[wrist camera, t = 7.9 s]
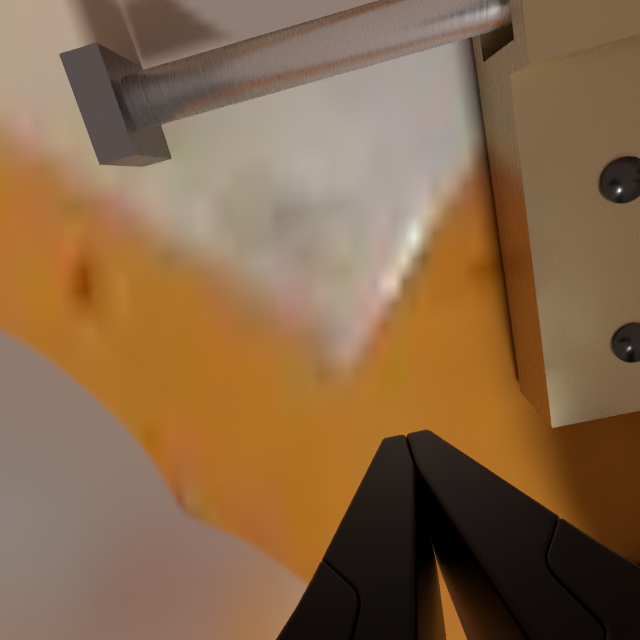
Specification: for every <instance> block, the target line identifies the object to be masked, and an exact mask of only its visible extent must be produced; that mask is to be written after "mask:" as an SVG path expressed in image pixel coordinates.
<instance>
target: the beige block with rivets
mask: <svg viewBox="0 0 640 640" xmlns="http://www.w3.org/2000/svg"><path fill="white" fill-rule="evenodd" d="M510 7H511V16H512V24H513V26H510V27H506V28H503V29H499V30H495V31H492V32H488V33H485V34H481V35H478V36H474V37H472V40H473V47H474V54H475V62H476V69H477V76H478V84H479V91H480V98H481V106H482V113H483V120H484V127H485V135H486V142H487V149H488V157H489V164H490V171H491V179H492V186H493V193H494V200H495V208H496V215H497V222H498V230H499V237H500V244H501V252H502V259H503V266H504V273H505V281H506V288H507V295H508V303H509V310H510V317H511V325H512V332H513V339H514V346H515V354H516V361H517V368H518V376H519V383H520V390H521V393H522V394H523V395H524V396H525V397H526V399H527V400H528V401H529V402H530V403H531V404H532V405H533V407H534V408H535V409H536V410H537V411H538V412H539V414H540V415H541V416H542V417H543V418H544V419H545V421H546V422H547V423H548V424H549V425H550V426H551V427H552V428H555V427H560V426H565V425H570V424H575V423H580V422H585V421H591V420H596V419H601V418H606V417H611V416H616V415H621V414H626V413H631V412H636V411H640V0H510Z"/></svg>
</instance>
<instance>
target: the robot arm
mask: <svg viewBox="0 0 640 640" xmlns="http://www.w3.org/2000/svg"><path fill="white" fill-rule="evenodd" d="M432 545H433V546H432ZM433 549H434V550H433ZM434 552H435V555H434ZM435 556H436V559H437V562H438V565H439V568H440V570H441V573H442V576H443V578H444V581H445V584H446V586H447V589H448V591H449V594H450V596H451V599H452V601H453V604H454V607H455V609H456V612H457V614H458V617H459V619H460V622H461V624H462V627H463V629H464V632H465V635H466V637H467V640H640V565H637V564H635V563H633V562H632V561H630V560H628V559H626V558H625V557H623V556H621V555H619V554H617V553H616V552H614V551H613V550H611V549H609V548H608V547H606V546H605V545H603V544H601V543H600V542H598V541H597V540H595V539H593V538H592V537H590V536H589V535H587V534H585V533H584V532H582V531H581V530H579V529H578V528H576V527H575V526H573V525H572V524H570V523H569V522H567V521H566V520H564V519H560V518H559V516H558V515H556V514H555V513H553V512H552V511H550V510H549V509H547V508H546V507H544V506H543V505H541V504H540V503H538V502H537V501H535V500H534V499H532V498H531V497H529V496H528V495H526V494H525V493H523V492H522V491H520V490H518V489H517V488H515V487H514V486H512V485H511V484H509V483H508V482H506V481H505V480H503V479H502V478H500V477H499V476H497V475H496V474H494V473H493V472H491V471H490V470H488V469H487V468H485V467H484V466H482V465H481V464H479V463H478V462H476V461H475V460H473V459H472V458H470V457H469V456H467V455H466V454H464V453H463V452H461V451H460V450H458V449H457V448H455V447H454V446H452V445H451V444H449V443H448V442H446V441H445V440H443V439H442V438H440V437H439V436H437V435H436V434H434V433H433V432H431V431H429V430H422V431H417V432H412V433H409V434H408V435H407V438H406V436H404V435H398V436H393V437H388V438H384V439H383V440H382V442H381V444H380V446H379V448H378V450H377V452H376V454H375V456H374V458H373V460H372V462H371V464H370V466H369V468H368V470H367V472H366V474H365V476H364V478H363V480H362V482H361V484H360V486H359V488H358V490H357V492H356V494H355V496H354V497H353V499H352V501H351V503H350V505H349V507H348V509H347V511H346V513H345V515H344V517H343V519H342V521H341V523H340V525H339V527H338V529H337V531H336V533H335V535H334V537H333V539H332V541H331V543H330V545H329V547H328V549H327V551H326V553H325V555H324V557H323V559H322V562H321V563H320V564H319V566H318V568H317V570H316V572H315V574H314V576H313V578H312V580H311V582H310V583H309V585H308V587H307V589H306V591H305V593H304V594H303V596H302V598H301V600H300V602H299V604H298V606H297V607H296V609H295V610H294V612H293V613H292V615H291V617H290V618H289V620H288V621H287V623H286V625H285V626H284V628H283V629H282V631H281V633H280V634H279V636H278V637H277V639H276V640H446V634H445V626H444V618H443V610H442V602H441V594H440V586H439V578H438V571H437V565H436V559H435Z"/></svg>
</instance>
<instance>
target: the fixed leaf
mask: <svg viewBox="0 0 640 640" xmlns="http://www.w3.org/2000/svg"><path fill="white" fill-rule="evenodd" d="M510 26H513V24H512V16H511V7H510V0H379V1H376V2H372V3H369V4H365V5H362V6H359V7H355V8H352V9H349V10H345V11H342V12H338V13H335V14H332V15H328V16H325V17H322V18H318V19H315V20H311V21H308V22H304V23H301V24H298V25H295V26H291V27H287V28H284V29H281V30H277V31H274V32H270V33H267V34H264V35H260V36H257V37H254V38H250V39H247V40H243V41H240V42H237V43H233V44H230V45H226V46H223V47H220V48H216V49H213V50H209V51H206V52H203V53H199V54H196V55H192V56H189V57H186V58H182V59H179V60H176V61H172V62H169V63H165V64H162V65H159V66H155V67H152V68H148V69H145V70H143V69H142V68H141V67H140V66H138V65H136V64H134V63H132V62H131V61H129V60H127V59H125V58H123V57H122V56H120V55H118V54H116V53H115V52H113V51H111V50H109V49H107V48H106V47H104V46H102V45H100V44H98V43H94V44H90V45H87V46H84V47H80V48H77V49H74V50H71V51H67V52H64V53H61V54H59V55H60V57H61V60H62V63H63V66H64V68H65V71H66V74H67V76H68V79H69V82H70V85H71V87H72V90H73V93H74V96H75V98H76V101H77V104H78V107H79V109H80V112H81V115H82V118H83V120H84V123H85V126H86V128H87V131H88V134H89V137H90V139H91V142H92V145H93V148H94V150H95V153H96V156H97V159H98V161H99V164H100V165H118V166H140V167H142V166H146V165H150V164H153V163H157V162H161V161H164V160H168V159H171V156H170V153H169V150H168V146H167V143H166V140H165V137H164V134H163V131H162V128H161V124H165V123H169V122H172V121H176V120H179V119H183V118H186V117H190V116H193V115H197V114H201V113H204V112H208V111H211V110H215V109H218V108H222V107H225V106H229V105H233V104H236V103H240V102H243V101H247V100H250V99H254V98H257V97H261V96H265V95H268V94H272V93H275V92H279V91H282V90H286V89H289V88H293V87H296V86H300V85H304V84H307V83H311V82H314V81H318V80H321V79H325V78H328V77H332V76H336V75H339V74H343V73H346V72H350V71H353V70H357V69H360V68H364V67H368V66H371V65H375V64H378V63H382V62H385V61H389V60H392V59H396V58H400V57H403V56H407V55H410V54H414V53H417V52H421V51H424V50H428V49H431V48H435V47H439V46H442V45H446V44H449V43H453V42H456V41H460V40H463V39H467V38H471V37H474V36H478V35H481V34H485V33H488V32H492V31H495V30H499V29H503V28H506V27H510Z"/></svg>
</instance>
